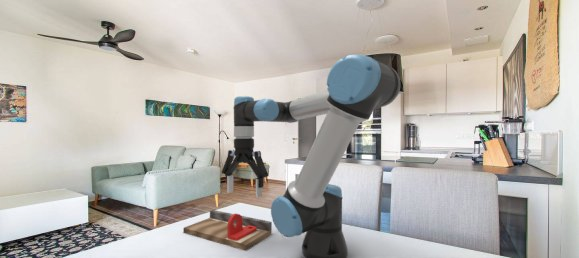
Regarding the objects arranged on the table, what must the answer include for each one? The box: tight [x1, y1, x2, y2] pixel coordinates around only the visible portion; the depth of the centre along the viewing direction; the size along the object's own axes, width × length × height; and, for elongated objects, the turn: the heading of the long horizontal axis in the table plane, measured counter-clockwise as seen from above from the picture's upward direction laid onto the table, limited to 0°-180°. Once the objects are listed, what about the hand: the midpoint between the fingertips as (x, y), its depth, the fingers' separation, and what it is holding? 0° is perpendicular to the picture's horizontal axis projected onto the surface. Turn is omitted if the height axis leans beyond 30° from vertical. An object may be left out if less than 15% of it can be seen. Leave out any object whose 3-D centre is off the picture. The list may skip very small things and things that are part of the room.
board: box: [183, 209, 273, 251], centre depth 104 cm, size 32×16×5 cm, turn 61°
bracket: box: [227, 213, 257, 241], centre depth 98 cm, size 12×4×8 cm, turn 148°
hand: (244, 194), depth 97 cm, fingers open, 13 cm apart
